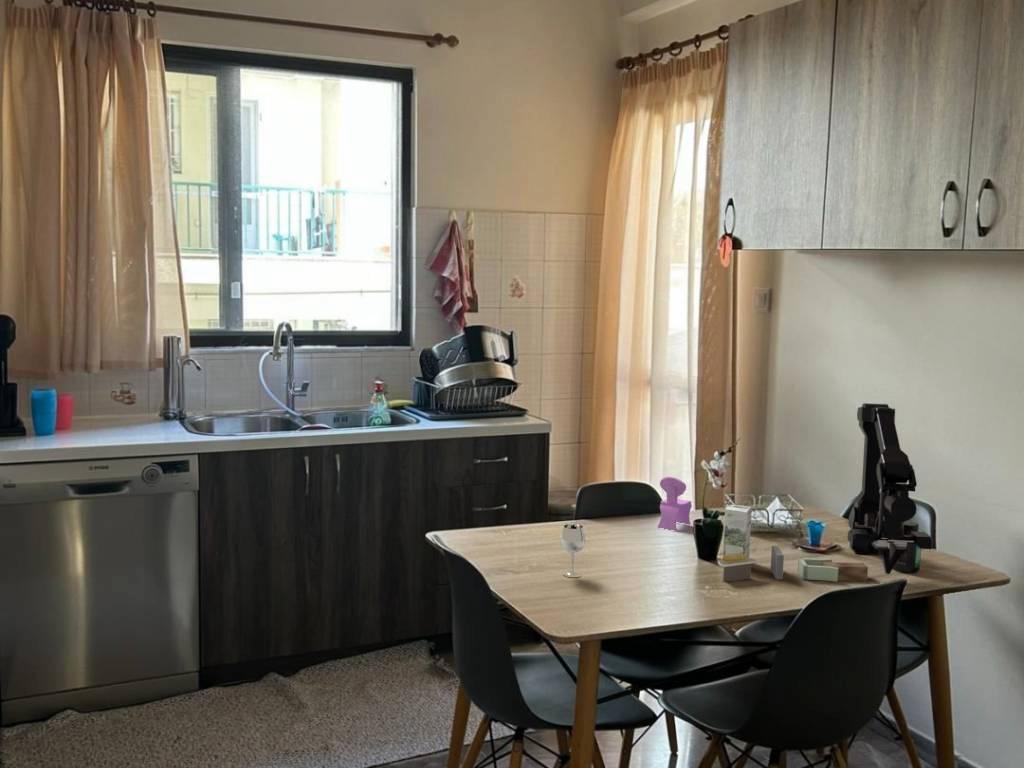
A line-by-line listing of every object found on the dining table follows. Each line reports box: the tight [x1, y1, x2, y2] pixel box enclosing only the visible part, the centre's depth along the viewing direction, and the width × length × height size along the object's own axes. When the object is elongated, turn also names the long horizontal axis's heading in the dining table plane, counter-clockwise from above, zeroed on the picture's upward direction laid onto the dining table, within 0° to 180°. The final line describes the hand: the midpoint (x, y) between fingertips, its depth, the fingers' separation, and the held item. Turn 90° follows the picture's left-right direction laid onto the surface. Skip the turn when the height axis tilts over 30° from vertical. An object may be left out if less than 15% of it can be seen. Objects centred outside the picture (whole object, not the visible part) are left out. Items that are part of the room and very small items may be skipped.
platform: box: [717, 552, 758, 583], centre depth 243 cm, size 12×18×7 cm, turn 114°
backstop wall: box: [770, 545, 785, 581], centre depth 247 cm, size 2×8×6 cm, turn 175°
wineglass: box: [560, 523, 586, 576], centre depth 243 cm, size 6×6×12 cm
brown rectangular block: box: [822, 561, 869, 581], centre depth 246 cm, size 10×4×4 cm, turn 91°
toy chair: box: [656, 476, 692, 532], centre depth 289 cm, size 8×9×15 cm
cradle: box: [797, 557, 838, 583], centre depth 246 cm, size 8×9×3 cm
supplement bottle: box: [892, 520, 922, 574], centre depth 253 cm, size 7×7×12 cm
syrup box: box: [722, 504, 753, 558], centre depth 255 cm, size 6×6×14 cm
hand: (887, 573), depth 245 cm, fingers closed
